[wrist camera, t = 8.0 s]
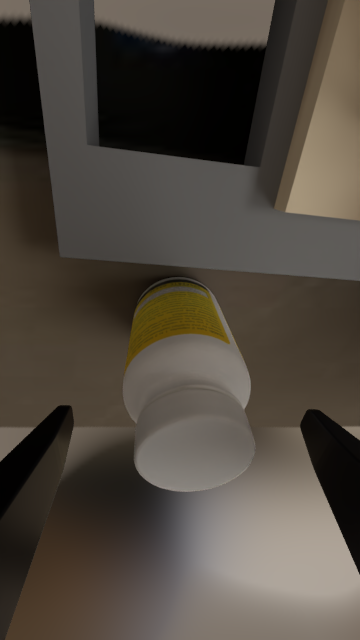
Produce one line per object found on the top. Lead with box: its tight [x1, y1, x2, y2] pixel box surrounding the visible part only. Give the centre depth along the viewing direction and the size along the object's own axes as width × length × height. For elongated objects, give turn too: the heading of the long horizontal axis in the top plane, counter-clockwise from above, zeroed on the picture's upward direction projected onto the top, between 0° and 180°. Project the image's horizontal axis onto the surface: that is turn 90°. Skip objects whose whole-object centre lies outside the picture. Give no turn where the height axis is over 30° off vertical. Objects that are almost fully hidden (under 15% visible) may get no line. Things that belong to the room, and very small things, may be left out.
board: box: [29, 0, 360, 281], centre depth 10 cm, size 20×16×2 cm
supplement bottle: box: [123, 277, 256, 492], centre depth 13 cm, size 5×5×10 cm
